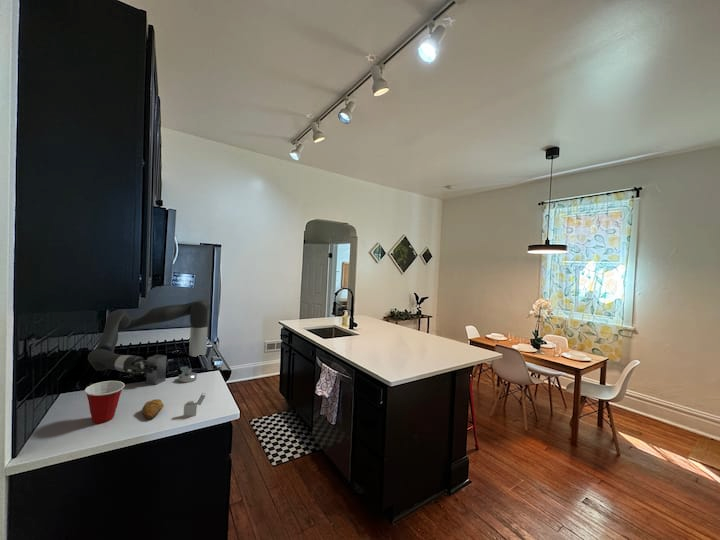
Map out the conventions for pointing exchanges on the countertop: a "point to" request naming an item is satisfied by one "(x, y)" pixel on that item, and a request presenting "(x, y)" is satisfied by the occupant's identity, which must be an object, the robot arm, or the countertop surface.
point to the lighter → (192, 406)
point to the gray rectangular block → (156, 369)
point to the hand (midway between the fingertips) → (160, 367)
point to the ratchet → (187, 375)
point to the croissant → (152, 408)
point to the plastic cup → (103, 400)
